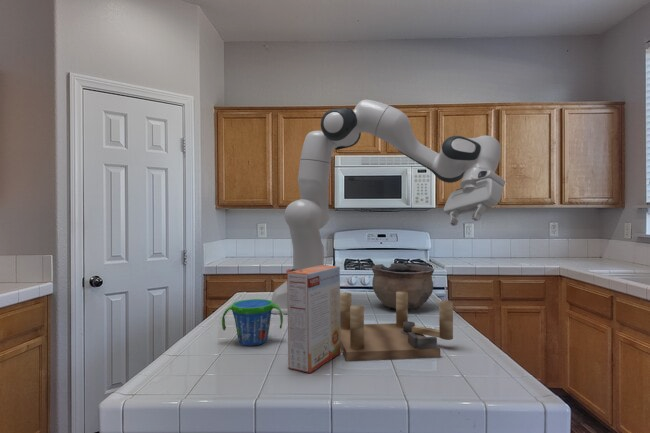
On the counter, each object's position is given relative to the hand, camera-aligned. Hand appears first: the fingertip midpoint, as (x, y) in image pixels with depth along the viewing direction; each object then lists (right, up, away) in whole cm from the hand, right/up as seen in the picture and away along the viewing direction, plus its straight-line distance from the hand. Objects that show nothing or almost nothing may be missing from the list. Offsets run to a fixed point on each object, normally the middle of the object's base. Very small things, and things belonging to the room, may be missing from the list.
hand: (463, 222), depth 112 cm
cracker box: (-43, -31, -27) cm, 60 cm away
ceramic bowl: (-13, -32, +25) cm, 42 cm away
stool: (-27, -31, -15) cm, 43 cm away
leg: (-15, -28, -15) cm, 35 cm away
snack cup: (-60, -31, -14) cm, 69 cm away
